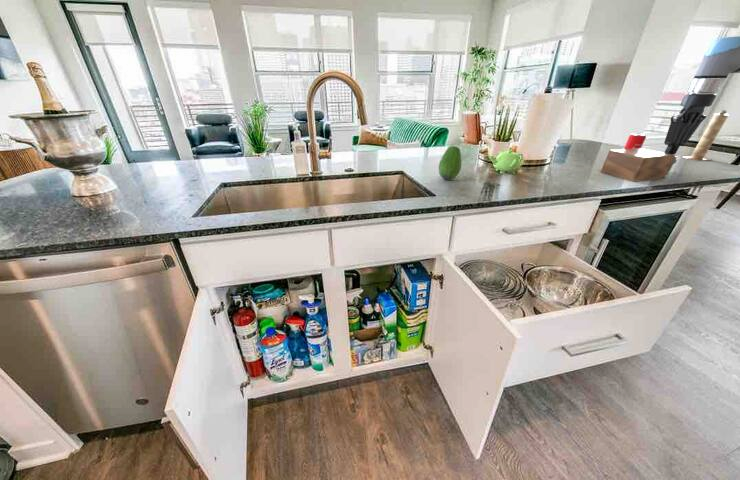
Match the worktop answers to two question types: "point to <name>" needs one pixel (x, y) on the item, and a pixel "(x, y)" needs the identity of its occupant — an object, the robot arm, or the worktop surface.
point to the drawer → (672, 165)
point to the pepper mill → (709, 135)
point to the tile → (696, 159)
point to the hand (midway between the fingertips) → (664, 163)
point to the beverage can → (635, 141)
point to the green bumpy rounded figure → (507, 161)
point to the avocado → (450, 163)
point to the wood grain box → (637, 164)
